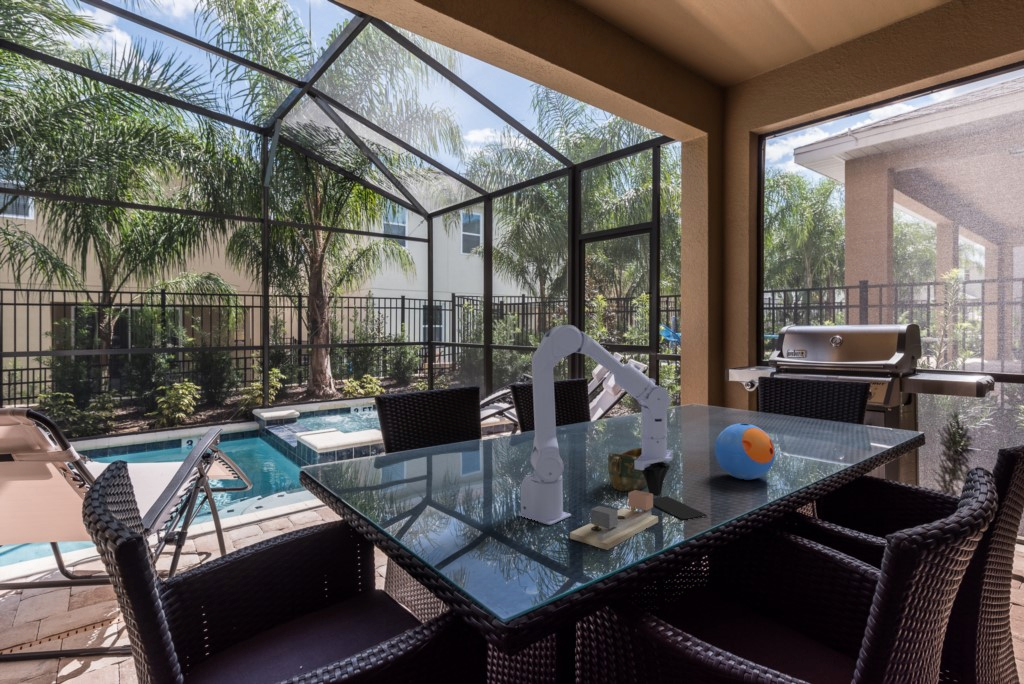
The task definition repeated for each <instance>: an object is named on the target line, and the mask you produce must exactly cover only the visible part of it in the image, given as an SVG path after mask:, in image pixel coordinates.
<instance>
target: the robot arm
mask: <svg viewBox="0 0 1024 684" xmlns="http://www.w3.org/2000/svg"><path fill="white" fill-rule="evenodd" d="M573 353H577V354H582V355H586V356H588V357H589V358H591V360H593V361H595V362H596V363H597V364H598V365H600V366H601V367H603V368H604V369H606V370H607V371H608V372H609V373H611V374H613V378H614V379H613V380H614V383H615V384H616V385H617V386H618V387H619V388H621V389H622V390H624V391H625V392H626V393H627V394H628V395H631V397H632V398H634V399H635V400H636V401H637V402H638V404H639V405H640V406H641V415H640V417H641V420H640V421H641V424H640V425H641V448H642V454H641V455H640V457H639V458H638V459H637V460H635V461H634V464H635V469H638V470H641V471H642V473H643V475H644V477H645V479H646V482H647V486H646V487H647V491H648V493H652V494H653V496H654V497H659V496H660V495H661V493H662V489H663V485H664V480H665V477H666V474H667V473H668V471H669V469H670V467H671V466H670V463H668V462H670V461H672V460H673V459H674V450H671V449H668V424H667V422H668V421H667V420H668V417H667V415H668V414H667V409H668V408H669V407H670V405H671V403H672V398H671V397H670V394H669V392H668V391H667V389H666V388H665V387H663V386H659V385H657V384H656V382H657V381H656V379H655V378H649V376H647V375H646V374H645V373H643V372H642V371H641V367H640V366H639V365H637V364H632V363H622V362H621V361H620V360H618V359H617V358H616V357H615V356H614V355H613V354H612V353H610V352H609V351H608V350H607V349H606V348H604V347H603V345H602V344H600V343H599V342H598V341H597V340H595V339H594V338H592V337H591V336H590V335H589V334H587V333H585V332H584V331H581V330H580V329H579V328H578V327H576V326H575V325H572V324H565V325H562V324H559V325H556V326H554V327H552V328H551V329H549V330H548V331H547V332H546V333H545V334H543V337H542V340H541V341H540V343H539V344H538V347H537V349H536V350H535V352H534V353H533V356H532V358H531V374H532V375H531V378H532V397H533V398H532V402H533V418H534V419H533V423H534V438H533V447H532V451H531V453H530V456H529V461H530V464H531V466H532V468H533V469H534V470H533V471H532V473H531V474H529V475H527V476H525V477H524V478H523V480H522V482H521V485H520V512H519V513H518V516H519V517H521V516H522V518H524V517H525V518H524V519H527V518H528V519H529V520H531V519H532V520H531V521H534V520H535V521H534V522H537V521H538V522H537V523H541V524H544V525H548V526H552V525H554V524H556V523H558V522H560V521H563V520H565V519H567V518H569V517H571V516H572V514H571V513H569V512H565V511H564V504H563V503H564V498H563V497H564V495H563V494H564V493H563V492H564V490H563V489H564V488H563V472H564V467H565V466H564V461H563V460H562V458H561V456H560V449H559V444H558V439H557V425H556V424H557V423H556V401H555V399H556V398H555V380H554V379H555V378H554V376H555V375H554V368H555V367H556V366H557V365H558V364H559V363H560V362H561V361H562V360H563V359H564V358H566V357H568V356H569V355H571V354H573Z"/></svg>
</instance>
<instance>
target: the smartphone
mask: <svg viewBox="0 0 1024 684" xmlns="http://www.w3.org/2000/svg"><path fill="white" fill-rule="evenodd" d="M653 508H655V509H658V510H659V511H662V512H664V513H666V514H667V513H668V515H669V514H670V515H669V516H671V515H672V516H671V517H673V516H674V518H675V517H676V519H677V518H678V519H677V520H679V519H680V520H679V521H682V520H686V521H689V520H688V519H692V520H694V519H693V518H698V517H702V516H706V517H707V514H705V513H703V512H702V511H699V510H697V509H696V508H693V507H691V506H689V505H687V504H685V503H682V502H681V501H678V500H676V499H674V498H672V497H670V496H667V495H666V496H660V497H659V496H658V497H653ZM698 519H699V518H698Z"/></svg>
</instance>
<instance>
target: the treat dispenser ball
mask: <svg viewBox="0 0 1024 684" xmlns="http://www.w3.org/2000/svg"><path fill="white" fill-rule="evenodd" d="M714 454H715V458H716V461H717V462H718V464H719V466H720V468H721V469H722V470H723V472H725V473H726V474H728V475H730V476H732V477H733V478H736V479H740V480H742V479H744V480H745V481H751V480H756V479H758V478H761V477H763V476H765V474H767V473H768V472H769V471H770V469H771V468H772V467H773V465H774V462H775V458H776V450H775V445H774V443H773V441H772V439H771V437H770V436H769V434H768V433H767V432H766V431H765V430H763V429H761V428H760V427H759V426H756V425H754V424H750V423H745V422H744V423H743V422H741V423H735V424H731V425H729V426H727V427H726V428H724V429H723V430H722V431H721V432H720V433H719V435H718V436H717V438H716V440H715V445H714ZM744 480H743V481H744Z"/></svg>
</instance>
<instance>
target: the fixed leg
mask: <svg viewBox="0 0 1024 684" xmlns="http://www.w3.org/2000/svg"><path fill="white" fill-rule="evenodd" d="M618 510H619V509H615V508H610V507H607V506H601V505H598V506H595V507H592V508H591V509H590V523H591V524H594V528H595V529H598V528H599V526H601V527H604V528H608V529H611V528H613V527H615V526H617V525H618Z"/></svg>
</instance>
